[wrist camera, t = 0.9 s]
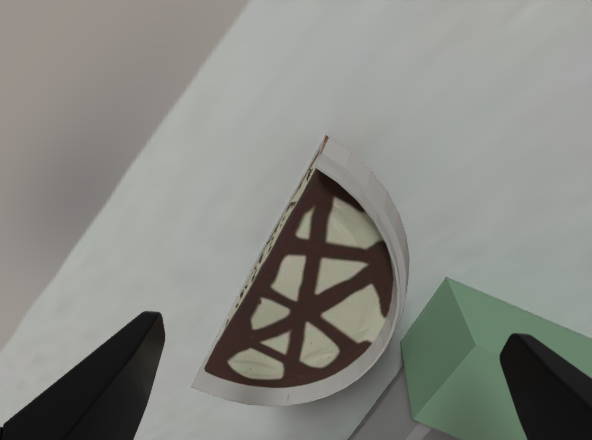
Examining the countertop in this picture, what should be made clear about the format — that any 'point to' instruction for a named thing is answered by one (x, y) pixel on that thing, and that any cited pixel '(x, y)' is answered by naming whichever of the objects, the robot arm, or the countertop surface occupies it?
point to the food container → (315, 291)
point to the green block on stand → (462, 370)
